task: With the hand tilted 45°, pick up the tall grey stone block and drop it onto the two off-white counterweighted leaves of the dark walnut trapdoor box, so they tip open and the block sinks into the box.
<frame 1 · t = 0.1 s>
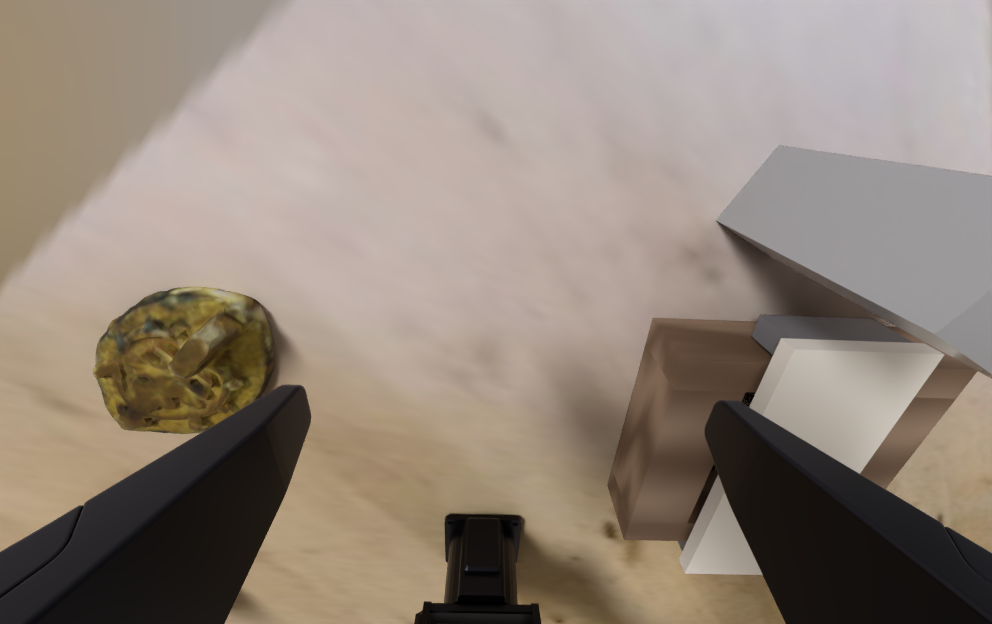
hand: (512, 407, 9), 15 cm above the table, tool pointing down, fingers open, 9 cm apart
trapdoor box: (736, 415, 28), on the table
grey stone block: (775, 205, 21), on the table
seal: (194, 359, 26), on the table
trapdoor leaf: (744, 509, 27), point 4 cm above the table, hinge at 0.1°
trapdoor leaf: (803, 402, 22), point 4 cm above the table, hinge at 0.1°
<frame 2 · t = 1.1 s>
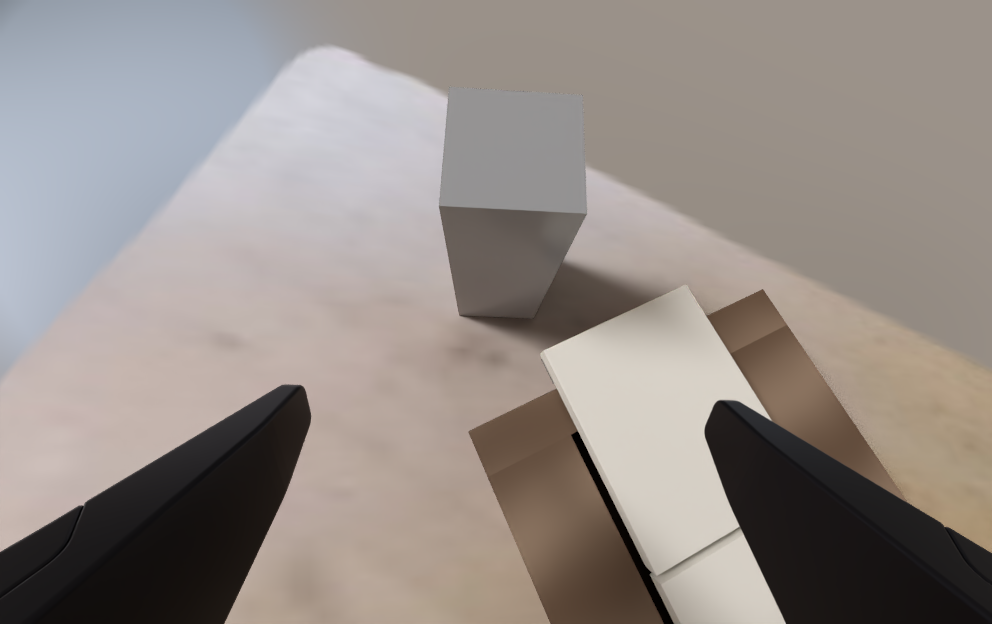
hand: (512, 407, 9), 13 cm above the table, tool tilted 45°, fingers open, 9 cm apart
trapdoor box: (668, 502, 21), on the table
grey stone block: (497, 282, 24), on the table
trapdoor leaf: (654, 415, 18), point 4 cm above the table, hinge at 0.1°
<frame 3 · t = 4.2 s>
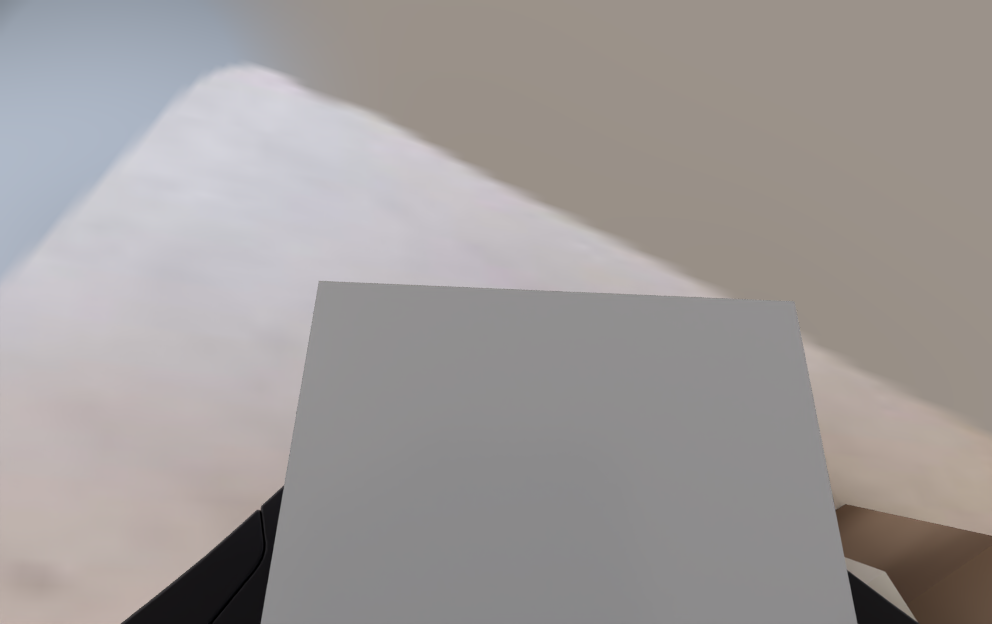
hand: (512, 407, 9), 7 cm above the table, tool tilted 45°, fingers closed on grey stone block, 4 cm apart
grey stone block: (496, 453, 14), on the table, touching gripper
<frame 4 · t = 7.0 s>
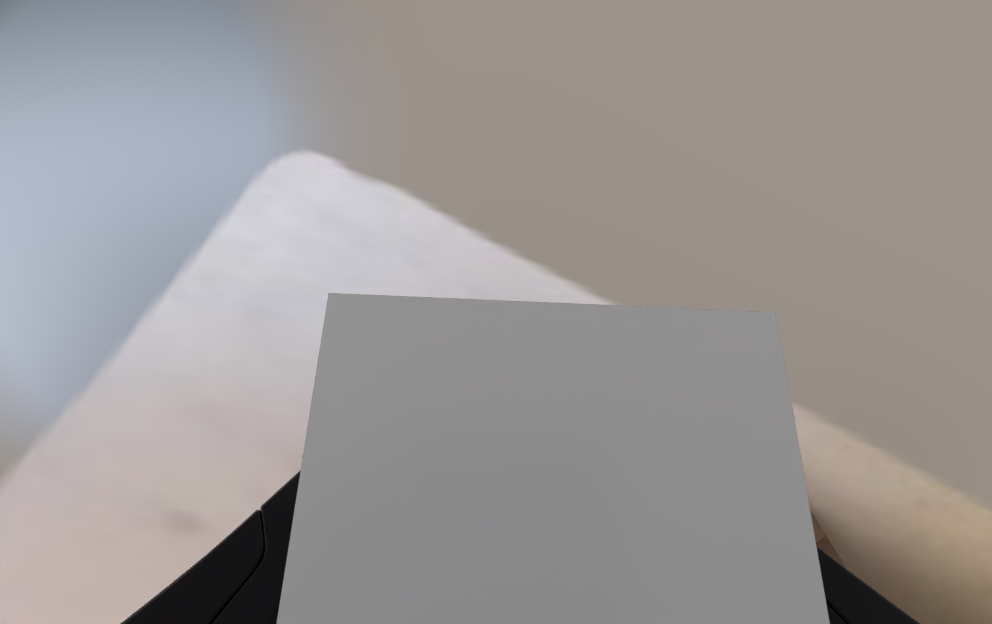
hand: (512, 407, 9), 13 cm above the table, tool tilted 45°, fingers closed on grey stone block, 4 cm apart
grey stone block: (496, 451, 15), point 6 cm above the table, touching gripper
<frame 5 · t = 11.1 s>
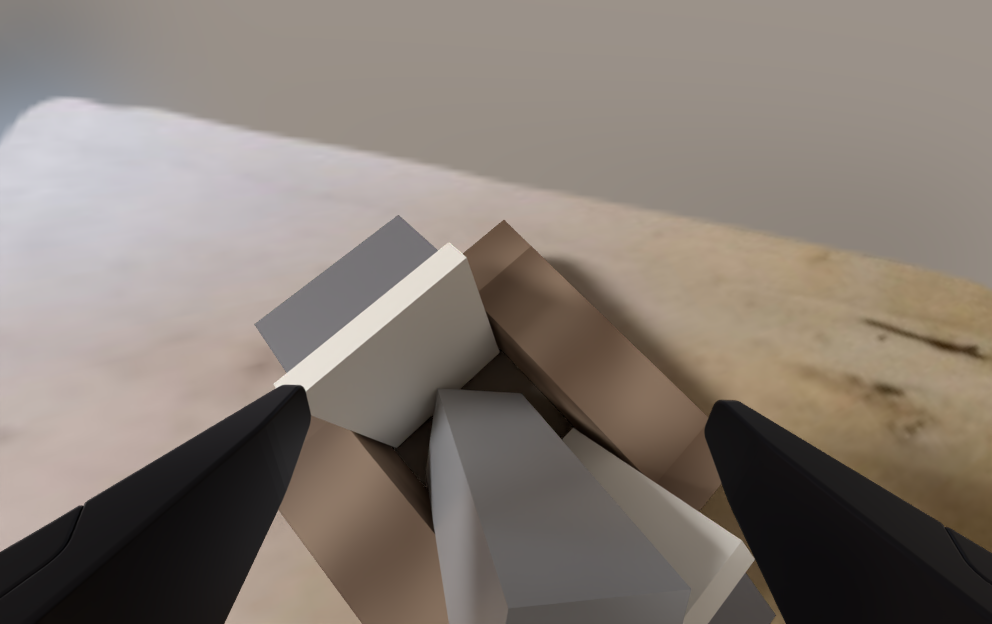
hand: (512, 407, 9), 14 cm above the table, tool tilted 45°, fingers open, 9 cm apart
trapdoor box: (491, 444, 21), on the table
grey stone block: (474, 431, 20), point 1 cm above the table, tilted 29°, touching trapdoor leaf, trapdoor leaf
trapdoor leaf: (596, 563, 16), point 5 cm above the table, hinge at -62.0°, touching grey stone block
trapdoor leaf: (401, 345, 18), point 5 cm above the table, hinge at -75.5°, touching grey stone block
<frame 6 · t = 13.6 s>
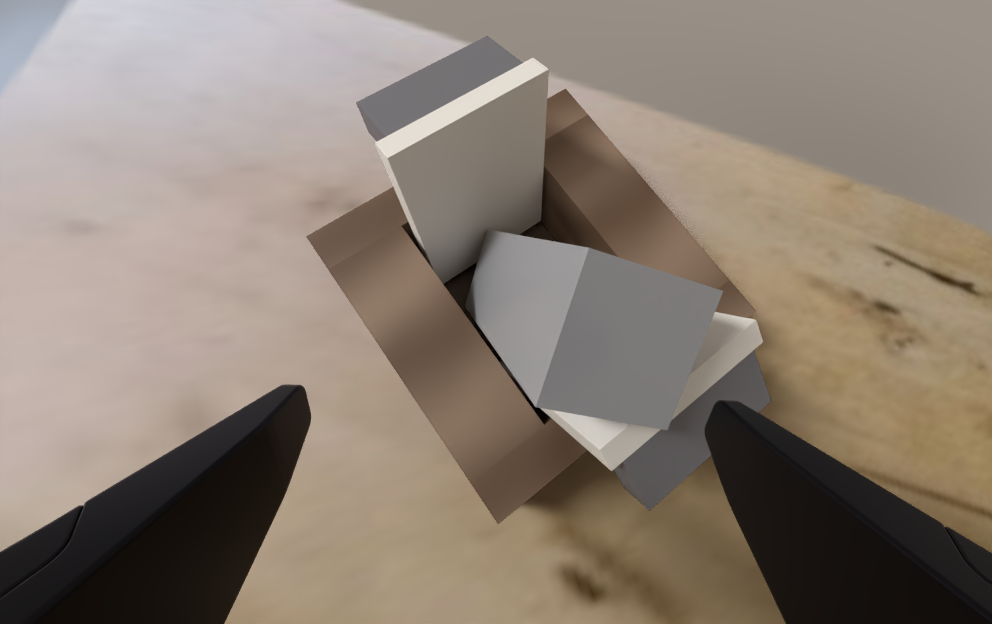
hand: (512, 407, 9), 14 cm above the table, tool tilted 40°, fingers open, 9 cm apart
trapdoor box: (523, 299, 23), on the table
grey stone block: (512, 278, 22), point 1 cm above the table, tilted 29°, touching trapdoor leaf, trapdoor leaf
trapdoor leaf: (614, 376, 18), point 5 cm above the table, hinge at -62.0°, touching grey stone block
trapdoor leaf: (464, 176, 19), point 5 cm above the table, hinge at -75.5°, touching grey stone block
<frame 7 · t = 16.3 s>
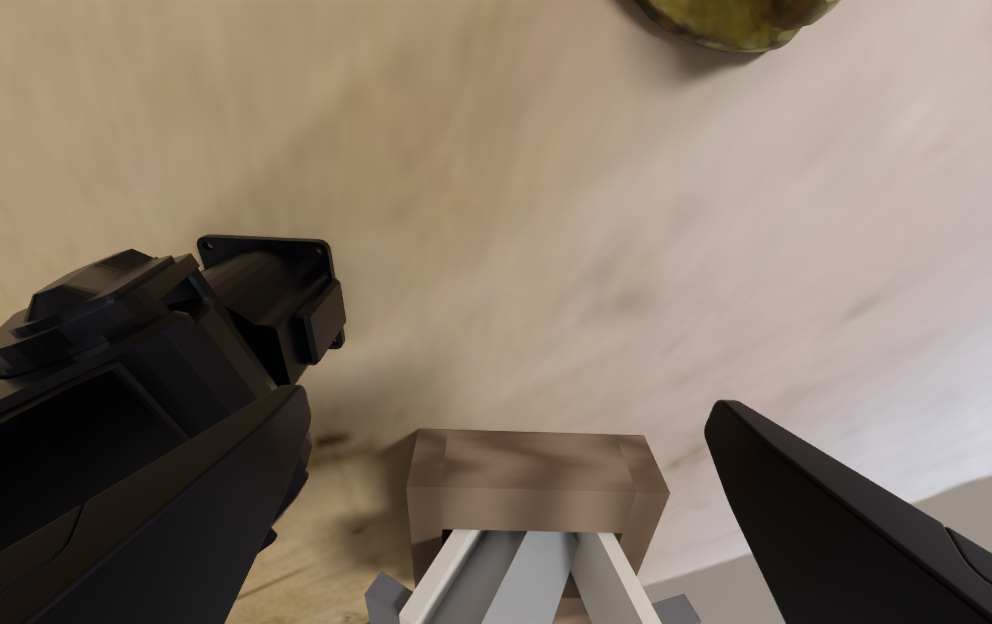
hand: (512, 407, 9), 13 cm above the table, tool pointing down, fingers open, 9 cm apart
trapdoor box: (522, 506, 31), on the table
grey stone block: (539, 522, 29), point 1 cm above the table, tilted 29°, touching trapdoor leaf, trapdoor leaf
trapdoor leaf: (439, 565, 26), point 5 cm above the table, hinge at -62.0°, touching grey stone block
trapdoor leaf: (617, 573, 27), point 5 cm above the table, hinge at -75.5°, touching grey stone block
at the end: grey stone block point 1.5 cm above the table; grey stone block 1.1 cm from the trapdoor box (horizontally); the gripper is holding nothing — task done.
